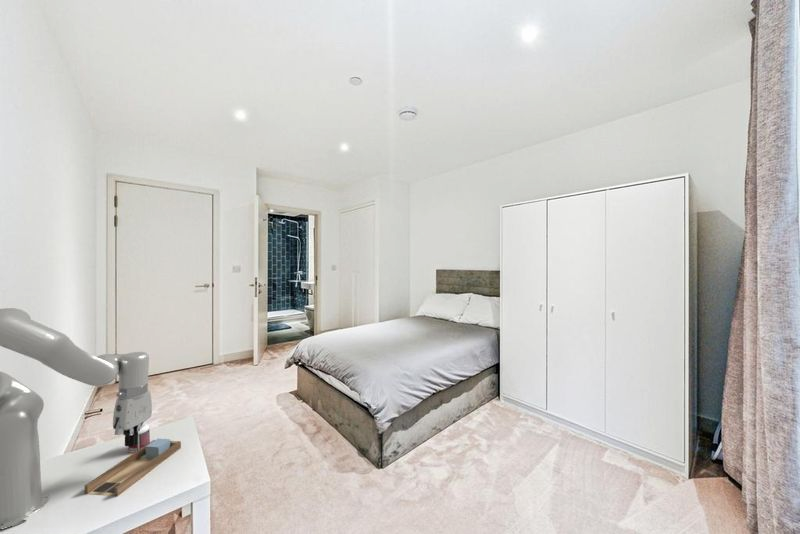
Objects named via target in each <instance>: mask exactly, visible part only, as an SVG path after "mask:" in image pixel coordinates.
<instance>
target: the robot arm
mask: <svg viewBox="0 0 800 534" xmlns="http://www.w3.org/2000/svg"><path fill="white" fill-rule="evenodd" d="M0 347H2V348H5V349H7V350H10V351H11V352H14V353H18V354H20V355H24V356H25V357H28V358H31V359H33V360H36V361H37V362H40V363H41V364H43V365H44V366H46V367H48V368H49V369H52V370H53V371H55V372H57V373H58V374H61V375H63V376H65V377H67V378H69V379H72V380H73V381H77V382H79V383H80V382H81V383H82V384H86V385H88V386H92V387H101V386H105V385H109V384H110V383H112V382H113V381H114V380H115V379H116V378H117V376H118V392H117V393H116V397H117V398H116V401H115V404H114V409H113V416H112V428H113V429H114V435H115V436H120V435H123V436H124V447H128V448H129V447H133V446H135V445H137V444H138V432H139V431H140V428H141V425H142V424H143V423H144V422H145V421H146V420H149V419H150V418H151V417H152V412H153V407H152V405H153V403H152V395H151V392H150V390H149V363H150V355H149V354H148V352H145V351H133V352H129V353H107V354H106V353H105V354H99V355H96V356H95V355H93V354H91V353H89V352H87V351H85V350H83V349H82V348H80V347H79V346H78V345H76V344H75V343H74V342H73V340H71V338H70V337H69V336H67V335H66V334H65V333H63V332H60V331H58V330H55V329H54V328H51V327H48V326H46V325H44V324H42V323H39V322H37V321H36V320H33V319H32V318H31V316H30V314H29V313H28V312H26V311H24V310H22V309H20V308H13V307H9V308H8V307H6V308H0ZM44 406H45V402H44V399H43V398H42V397H41V395H39V394H38V393H37V392H36V391H34V390H32V389H31V388H30V387H29V386H27V385H25V384H24V383H22V382H21V381H20V380H18V379H16V378H14V377H13V376H11V375H10V374H9V373H6V372H3V371H0V529H2V528H5V527H9V526H12V527H14V526H17V525H20V524H22V523H24V522H26V521H27V519H26V518H29V517H30V516H33V515H34V514H36V513H37V512H38V511H40V510H41V509H43V508H44V507H45V505H47V504H48V503H49V500H50V495H49V494H47V493H42V477H41V454H40V453H41V452H40V451H41V450H40V439H39V431H38V429H39V428H38V420H39V419H40V416H41V415H42V412H43V410H44Z"/></svg>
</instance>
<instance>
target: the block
mask: <svg viewBox="0 0 800 534" xmlns="http://www.w3.org/2000/svg"><path fill="white" fill-rule="evenodd" d="M154 440H155V441H153V440H152V441H153V442H152V443H150V444H149V445H147V446H146V457H147V458H156V457H157V456H159V455H160V454H162V453H163V452H164V451H166V450H167V449H168V448H170V441H171V439H170V438H156V439H154Z"/></svg>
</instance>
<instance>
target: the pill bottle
mask: <svg viewBox="0 0 800 534" xmlns="http://www.w3.org/2000/svg"><path fill="white" fill-rule="evenodd" d="M150 431H151V430H150V426H149V424H147V420H146V421H145V422H144V423H143V424H142V425H141V428H140V431H139V432H138V444H137V445H135V446H133V447H129V446H128V453H129V454H133V453H135V452H136V451H138V450H139V449H141V448H142V447H144V446H145V445H147V444H148V443H150V442H151V436H150V435H151V433H150Z"/></svg>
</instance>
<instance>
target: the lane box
mask: <svg viewBox="0 0 800 534" xmlns="http://www.w3.org/2000/svg"><path fill="white" fill-rule="evenodd" d="M155 440H156V439H153V440H150V443H152V442H153V441H155ZM150 443H148V444H147V445H149V444H150ZM147 445H145V446H144V447H142V448H141V449H139V450H138V451H136V452H135V453H131V454H130V455H129V456H127V457H126V458H124V459H123V460H122V461H119V462H118V463H117V464H115V465H113V467H112V466H111V468H109V469H107V470H106V471H105V472H103V473H101V474H100V475H99V476H97V477H95V478H94V479H93V480H91V481H89V482H87V483H86V484H85V485H84V494H85V495H92V496H93V495H96V496H108V497H109V496H110V497H119V496H120V495H122V494H123V493H124V492H125V491H127V490H128V489H129V488H130V487H132V486H133V485H135V484H136V483H137V482H138V481H140V480H141V479H143V477H145V476H146V475H148V474H149V473H150V472H152V471H153V470H155V468H157V467H158V466H159V465H161V464H162V463H164V462H165V461H166V460H168V459H169V458H170V457H171V456H172V455H174V454H175V453H177V452H178V451H179V450H181V449H182V441H180V440H178V441H177V440H170V448H168V449H167V450H166V451H164V452H163V453H162V454H160V455H159V456H157V457H156V458H147V457H146V446H147Z"/></svg>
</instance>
